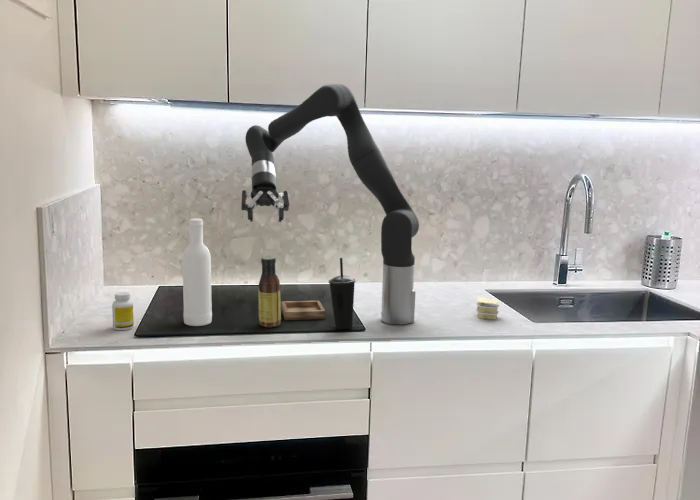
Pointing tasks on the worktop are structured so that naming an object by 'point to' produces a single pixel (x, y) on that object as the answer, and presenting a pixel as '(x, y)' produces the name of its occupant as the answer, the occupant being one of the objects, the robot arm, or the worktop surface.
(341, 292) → the drinking cup
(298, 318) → the tray
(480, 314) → the pale yellow layered block
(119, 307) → the supplement bottle
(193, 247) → the bottle
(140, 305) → the worktop surface
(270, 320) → the sauce bottle
